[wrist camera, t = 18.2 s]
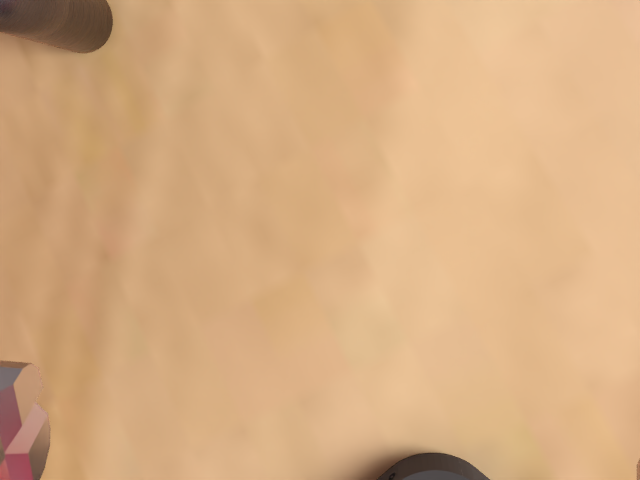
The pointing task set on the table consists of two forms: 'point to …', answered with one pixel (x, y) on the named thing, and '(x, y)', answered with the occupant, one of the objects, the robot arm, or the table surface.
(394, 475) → the media streaming box
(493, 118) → the table surface
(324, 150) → the table surface
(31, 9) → the round bit
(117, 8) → the table surface
